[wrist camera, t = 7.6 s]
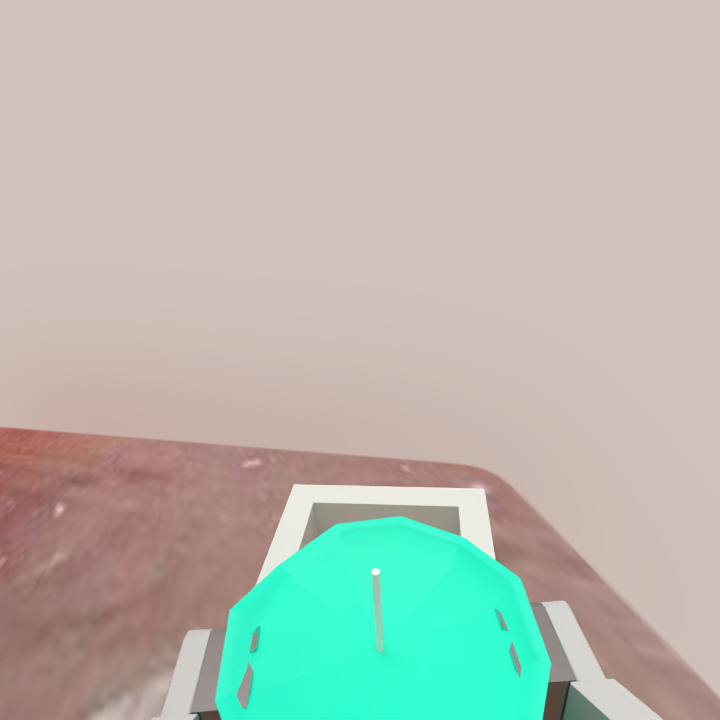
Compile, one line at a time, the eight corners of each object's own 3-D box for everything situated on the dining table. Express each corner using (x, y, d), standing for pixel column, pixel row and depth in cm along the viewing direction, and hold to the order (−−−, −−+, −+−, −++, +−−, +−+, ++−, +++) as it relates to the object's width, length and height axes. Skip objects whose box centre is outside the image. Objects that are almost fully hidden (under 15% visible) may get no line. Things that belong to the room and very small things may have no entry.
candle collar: (242, 728, 21) (224, 668, 19) (302, 535, 30) (293, 484, 29) (510, 755, 19) (516, 692, 17) (482, 542, 29) (484, 488, 27)
